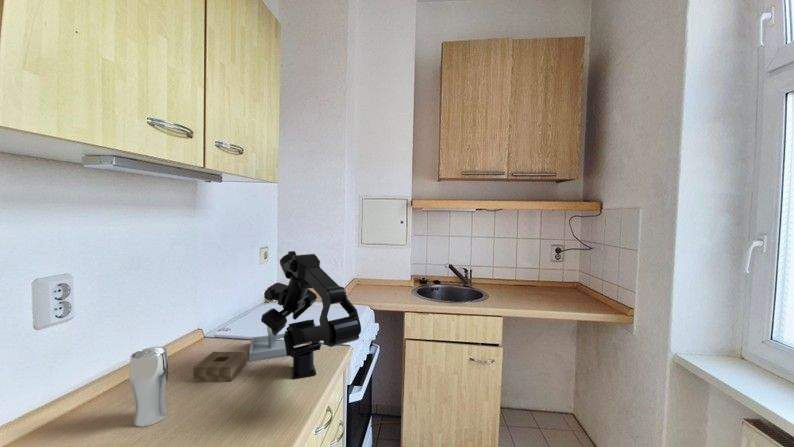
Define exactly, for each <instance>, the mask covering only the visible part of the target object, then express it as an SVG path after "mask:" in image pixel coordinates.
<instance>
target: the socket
mask: <svg viewBox="0 0 794 447" xmlns="http://www.w3.org/2000/svg"><path fill="white" fill-rule="evenodd" d="M247 352H248V351H212V352H211V353H210V354H209V355H207V356H206V357H205V358H204V359H202V360H201V361H199V363H197V364H196V365H194V367H193V382H194V383H196V382H197V383H201V382H204V383H205V382H207V383H210V382H211V383H212V382H213V383H214V382H215V383H216V382H219V383H220V382H228V383H230V382H232V381H233V380H234V379H235V378H236V377H237V376H238V375H239V374H240V373H241V371H242V370H243V369H244V368H245V367H246V366H247V365H248V364H247V363H248V362H247V361H248V356H247V355H248V353H247Z"/></svg>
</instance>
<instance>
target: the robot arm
mask: <svg viewBox="0 0 794 447" xmlns="http://www.w3.org/2000/svg"><path fill="white" fill-rule="evenodd" d="M279 265H280V268H281V269H282V273H283V274H284V276H285V278H286V279H287V280H289V281H288V284H284V283H281V282H275V283H273V284H272V285H270V286H268V287H267V289H265V292H264V293H263V294H264V299H265V300H267V301H270V302H271V301H277V305H279V306H280V307H281V306H282V310H280V311H279V310H277V309H275V307H273V308H270V309H269V310H267V311H266V312H264V313H263V314H262V316H261V319H260V321H261V323H263V324H264V325H266V327H267V326H268V327H269V328H271V330H272V334H273V335H274V336H276V335H277V334H280V332H281V331H282V330H283V329H284V328H285V327H286V324H288V326H287V327H286V330H285V331H284V333H285V334H284V333H283V334H284V342H285V349H286V355H287V356H286V357H290V358H292V367H291V368H290V369H291V378H292V379H293V380H294V379H299V378H306V377H312V376H316V375H317V371H316V368H315V364H314V362H315V361H314V360H315V359H314V358H315V357H314V352H316V351H320V350H321V349H322V348H321V347H322V342H323V345H325V346H327V347H329V348H333V347H336V346H340V345H344V344H348V343H352V342H355V341H359V339H360V335H361V333H362V325H361V324H362V323H361V322H360V316H359V313H358V309H357V308H356V307H355V306H354V304H353V303H352V302H351V301H350V300H349V298H348V296H347V291H346V289H345V287H343V286H340V285H339V284H338V283H337V282H335V280H334V279H332V277H331V276H330V275H329V274H328V273H326V272H325V271H324V269H322V267H321V266H320V265H321V260H320V259H319V257H318V256H317V254H315V253H308V254H297V253H296V251H295V250H292V251H289V250H288V253H287V254H285V255H283V256H282V257H281V258H280V260H279ZM311 289H313V290H314V291H315V292H314V291H312V290H311ZM317 295H318V296H319V297H320V298H321V303H322V309H321V311H320V312H321V313H320V315H319V320H318V322H319V324H317V325H316V323H315V320H314V318H313V319H307V320H302V321H301V320H300V321H297V322H296V321H295V322H292V323H288V319H287V317H290V315H291V314H292V319H293V320H297V319H298V318H299V317H300V316H301V315H303V313H305V312H306V311H307V310H309V308H310V307H312V305H313V304H315V303H316V301H317V299H318V296H317ZM335 304H336V305H337V304H339V305H340V306H341V307H342V308H343V310H344V311H345V312H346V313H347V315H348V316H344V317H339V318H335V319H332V320H329V318H328V315H329V311H330V307H331V306H332V305H335ZM308 343H309V344H308ZM293 346H296V348H294V347H293Z"/></svg>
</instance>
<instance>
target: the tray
mask: <svg viewBox="0 0 794 447" xmlns="http://www.w3.org/2000/svg"><path fill="white" fill-rule="evenodd" d="M284 334H285V332H283V333H278V334H277V335H276V340H277V339H280V338H284ZM293 347H294V348H296V347H297V346H293ZM283 357H288V356H287V355H286V349H285V342H284V341H276V347H275V348H270V347H268V335H261V336H253V337H251V338H250V347H249V353H248V360H249V362H254V361H256V362H257V361H261V360H268V359H277V358H283Z"/></svg>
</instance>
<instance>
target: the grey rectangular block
mask: <svg viewBox="0 0 794 447" xmlns="http://www.w3.org/2000/svg"><path fill="white" fill-rule="evenodd" d="M266 333H267V336H268V347H270V348H275V347H276V336H274V335H273V334H272V330H271V328H269V327H268V326H267V325H266Z"/></svg>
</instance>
